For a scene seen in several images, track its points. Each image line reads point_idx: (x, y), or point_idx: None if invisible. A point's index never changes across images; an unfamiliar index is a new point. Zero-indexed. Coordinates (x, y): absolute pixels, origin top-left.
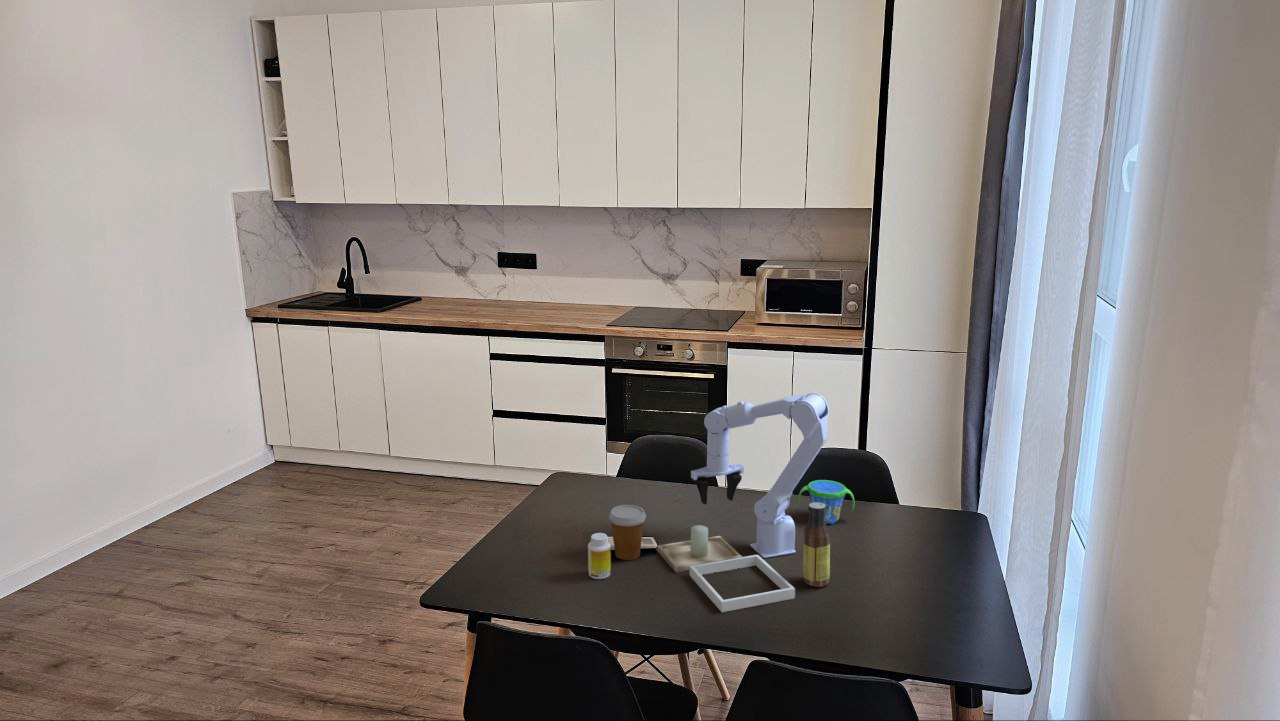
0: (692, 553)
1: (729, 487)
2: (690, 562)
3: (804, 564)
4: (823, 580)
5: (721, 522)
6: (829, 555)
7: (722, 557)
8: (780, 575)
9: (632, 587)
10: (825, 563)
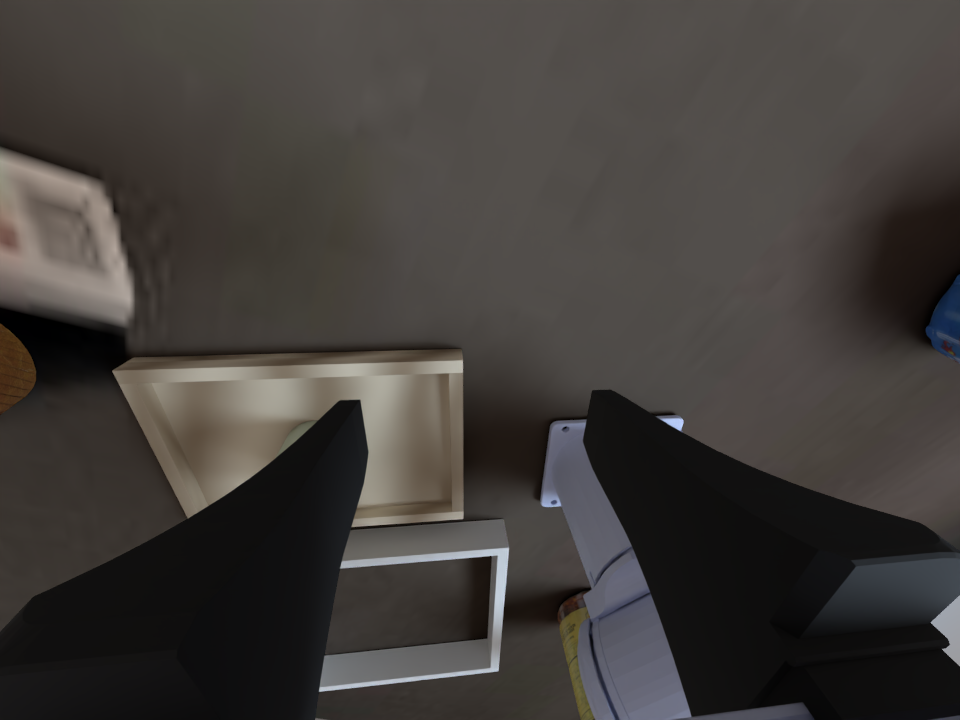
0: None
1: (645, 495)
2: None
3: (570, 666)
4: None
5: (575, 140)
6: None
7: (404, 485)
8: (501, 633)
9: (41, 561)
10: None
